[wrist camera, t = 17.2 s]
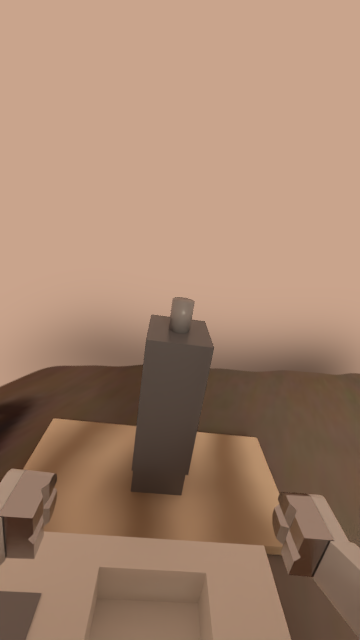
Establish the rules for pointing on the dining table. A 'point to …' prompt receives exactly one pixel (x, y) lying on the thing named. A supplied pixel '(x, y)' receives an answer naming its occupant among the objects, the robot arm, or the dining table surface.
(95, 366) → the dining table surface
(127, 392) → the dining table surface
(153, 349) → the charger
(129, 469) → the oak board
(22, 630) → the beige holder tray
